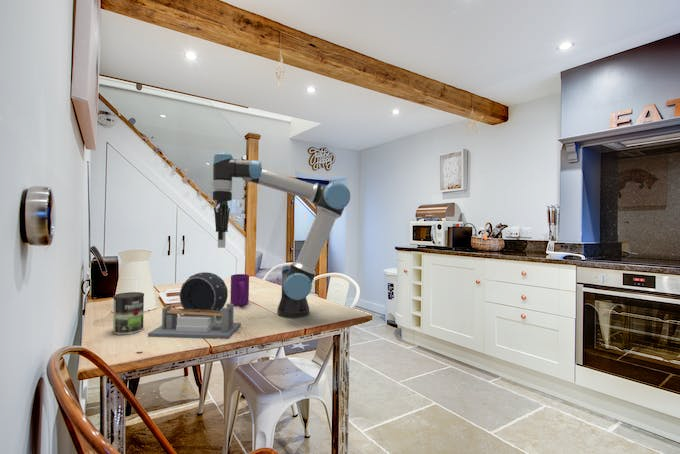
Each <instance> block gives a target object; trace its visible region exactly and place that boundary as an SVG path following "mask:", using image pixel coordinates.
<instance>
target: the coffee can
mask: <svg viewBox="0 0 680 454" xmlns="http://www.w3.org/2000/svg"><path fill="white" fill-rule="evenodd" d="M144 299H145V293H144V292H139V291H138V292H136V291H130V292H120V293H116V294H114V295H113V317H112V318H113V321H112V322H113V327H112V328H113V329H112V333H113V334H114V335H119V336H120V335H123V336H124V335H132V334H136V333H140V332H142V331H143V330H144V305H145V302H144V301H145V300H144Z"/></svg>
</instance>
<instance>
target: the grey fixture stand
mask: <svg viewBox="0 0 680 454" xmlns="http://www.w3.org/2000/svg"><path fill="white" fill-rule="evenodd" d="M171 307H172V305H171V304H169V305H166V306H165V307H163V308H162V309H161V311H162V312H161V316H162V318H161V324H162V325H160V326H157V328H155V329H152V330H151V331H150V332H148V333H147V337H153V338H154V337H155V338H188V339H217V338H220V340H222V339H224V340H228V339H230V338H231V336H232V335H234V333H235V332H236V331H238V329H240V327H241V326H242V325H241V322H234V316H235V315H234V310H235V309H234V307H235V306H234V304H230V303H227V304H226V307H223V308H221V310H220V311H221V316H220V317H221V318H220V319H221V320H220V321H219V322H218V319H217V316H212V315H192V314H181V315H179V314H173V313H167V310H169V309H171ZM229 310H231V311H232V313H231V314H230V315H229ZM178 315H179V316H178Z"/></svg>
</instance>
